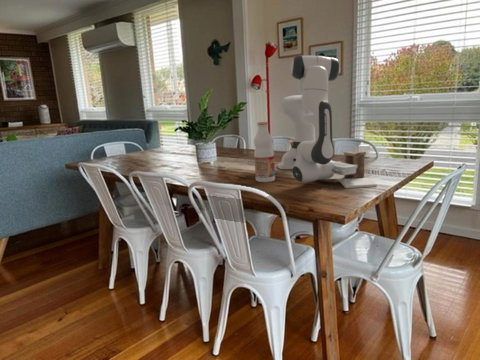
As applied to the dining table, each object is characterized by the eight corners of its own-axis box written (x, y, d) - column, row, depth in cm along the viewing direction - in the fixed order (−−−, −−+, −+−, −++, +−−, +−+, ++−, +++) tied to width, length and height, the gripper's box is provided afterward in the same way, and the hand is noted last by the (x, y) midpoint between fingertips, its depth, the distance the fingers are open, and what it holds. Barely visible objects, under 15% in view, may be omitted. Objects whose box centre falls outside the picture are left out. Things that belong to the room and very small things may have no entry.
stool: (354, 179, 168) (354, 153, 165) (343, 176, 174) (343, 152, 171) (365, 177, 171) (365, 151, 168) (354, 174, 177) (354, 150, 174)
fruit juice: (253, 179, 180) (250, 122, 174) (271, 177, 182) (269, 121, 176) (258, 183, 171) (255, 123, 165) (277, 181, 173) (275, 122, 167)
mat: (345, 188, 154) (345, 185, 154) (339, 181, 166) (339, 179, 166) (376, 186, 153) (376, 184, 153) (368, 179, 165) (368, 177, 165)
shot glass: (356, 155, 225) (356, 144, 223) (367, 155, 225) (367, 143, 223) (361, 157, 218) (361, 146, 216) (372, 156, 218) (372, 145, 217)
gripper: (341, 165, 154) (365, 160, 160) (311, 158, 172) (334, 155, 177) (341, 179, 155) (365, 174, 161) (311, 172, 173) (334, 167, 179)
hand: (349, 164), depth 169 cm, fingers open, 8 cm apart
